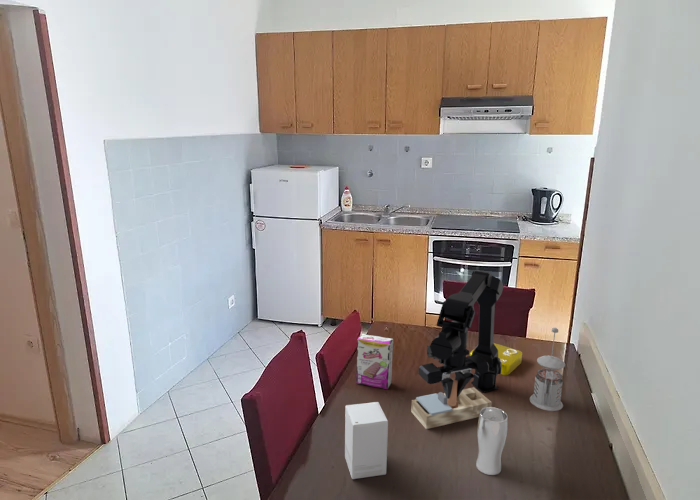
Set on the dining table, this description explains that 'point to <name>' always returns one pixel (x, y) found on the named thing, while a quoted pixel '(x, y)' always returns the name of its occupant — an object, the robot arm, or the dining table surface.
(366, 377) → the candy bar box
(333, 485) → the dining table surface
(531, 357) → the dining table surface
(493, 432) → the beer glass
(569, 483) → the dining table surface
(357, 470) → the supplement box
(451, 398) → the peg
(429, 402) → the lid
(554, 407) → the french press
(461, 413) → the wooden compartment tray
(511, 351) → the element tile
